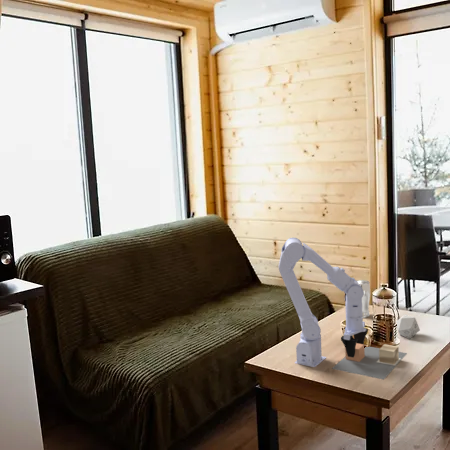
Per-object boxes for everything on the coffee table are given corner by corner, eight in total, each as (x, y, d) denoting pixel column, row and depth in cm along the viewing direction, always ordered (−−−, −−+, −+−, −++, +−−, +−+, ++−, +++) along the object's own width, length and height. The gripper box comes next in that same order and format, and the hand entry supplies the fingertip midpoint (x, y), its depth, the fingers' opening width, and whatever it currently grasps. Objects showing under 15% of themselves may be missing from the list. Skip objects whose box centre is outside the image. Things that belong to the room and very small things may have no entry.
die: (397, 341, 211) (413, 324, 207) (386, 325, 217) (401, 307, 213) (412, 344, 215) (428, 327, 211) (401, 328, 221) (416, 311, 217)
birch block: (393, 364, 188) (393, 351, 188) (379, 361, 191) (379, 349, 190) (398, 359, 192) (398, 346, 192) (384, 356, 195) (384, 344, 194)
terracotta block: (359, 361, 192) (358, 349, 192) (345, 359, 195) (345, 346, 194) (364, 356, 196) (364, 344, 196) (351, 354, 199) (350, 342, 198)
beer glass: (360, 312, 245) (359, 279, 243) (373, 315, 240) (373, 281, 238) (350, 316, 241) (349, 282, 239) (364, 319, 236) (363, 285, 233)
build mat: (383, 380, 178) (383, 379, 178) (331, 370, 188) (331, 368, 188) (407, 354, 197) (407, 352, 197) (358, 346, 207) (358, 344, 207)
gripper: (357, 323, 185) (358, 362, 187) (372, 310, 197) (373, 347, 199) (337, 320, 189) (338, 358, 191) (353, 308, 201) (354, 344, 203)
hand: (355, 352), depth 195 cm, fingers open, 7 cm apart
